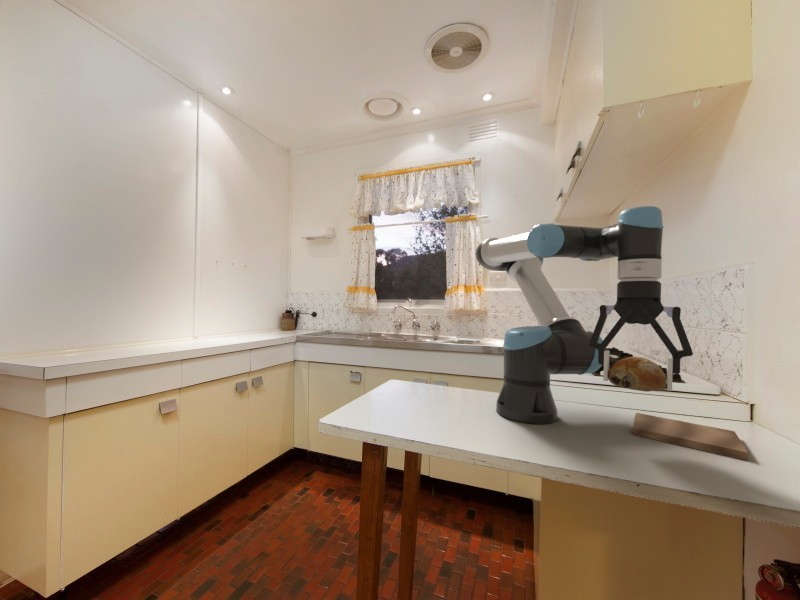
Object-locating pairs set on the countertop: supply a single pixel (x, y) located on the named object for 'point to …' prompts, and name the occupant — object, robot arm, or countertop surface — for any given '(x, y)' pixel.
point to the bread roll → (637, 374)
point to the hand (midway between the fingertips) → (636, 384)
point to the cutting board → (690, 435)
